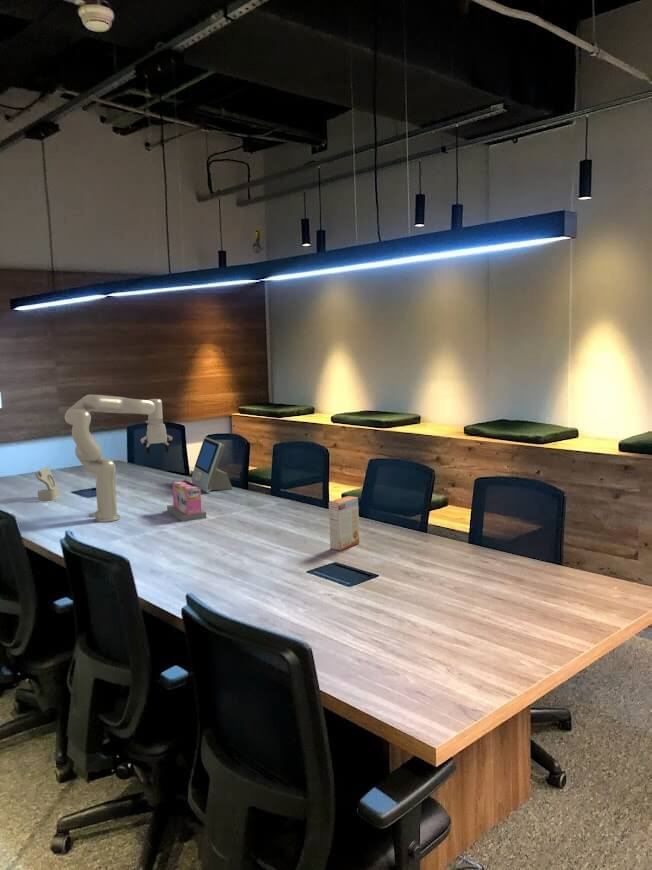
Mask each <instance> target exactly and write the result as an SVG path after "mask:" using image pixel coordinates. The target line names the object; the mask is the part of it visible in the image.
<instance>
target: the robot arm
mask: <svg viewBox="0 0 652 870" xmlns="http://www.w3.org/2000/svg"><path fill="white" fill-rule="evenodd" d="M91 412H96V413H108V414H109V413H111V414H135V415H148V416H147V417H148V418H147V420H145V424H147V426H146V427H147V428H146V435H145V436H144V437H141V439H140V442H141V444H142V445H143V446H144V447H145V452H146V453H145V454H147V455H148V456H149V455H151V451H150V450H151V449H150V446H151V445H152V444H164V453H166V454H168V451H169V445H170V444H171V443H172V440H173V439H174V437H173V436H171V435H169V434H167V429H166V425H165V423H164V420H163V419H164V416H163V401H162V399H160V398H150V399H136V398H129V397H125V396H115V395H114V396H113V395H104V394H86V395H85V396H83V397H82V398H81V399H79V400H78V401H76V402H75V403H74V404H73V405H72V406H70V407H69V408H68V409H67V410H66V412H65V413H64V420H65V423H67V424H68V425H70V426H72V428H71V438H72V440H73V442H74V443H75V448H74V454H75V456H76V459H78V461H79V462H80V464H82V466H83V467H84V468H85V470H86V471H87V472H88V473H89V474H91V475H93V476H96V481H95V493H96V507H97V510H96V511H95V512H93V513H88V514H87V515H88V518H94V520H95V522H100V523H106V522H107V523H108V522H109V523H110V522H115V521H119V520H120V519H121V515H120V514H118V508H117V507H118V506H117V504H118V503H117V491H116V474H117V467H116V464H115V462H114V461H113V460H111V459H110V458H109V459H108V458H105V457H102V456H103V449H102V447H101V446H100V445H99V443H98V442H97V441H96V440H95V438H94V437H93V435H92V434H91V432H90V425H91V421H92V416H91ZM145 440H146V441H147V442H146V441H145Z"/></svg>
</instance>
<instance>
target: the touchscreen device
mask: <svg viewBox="0 0 652 870" xmlns="http://www.w3.org/2000/svg"><path fill="white" fill-rule="evenodd" d="M224 448H225V444H224V443H222V442H219V441H217V440H214V439H211V438H209V437H204V438H203V440H202V443H201V446H200V448H199V449H200V450H199V452H198V455H197V458H196V462H195V463H194V468H193V471H192V475H191V483H193V484H195V485H197V486H199V487H200V489H201V491H203V492H205V493H206V494H210V492H211V491H223V490H233V486H232V484H231V481H230V478H229V475H228V473H227V472H226V471H223V470H221V469H219V468H218V466H219V463H220V461H221V457H222V455H223V451H224Z"/></svg>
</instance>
